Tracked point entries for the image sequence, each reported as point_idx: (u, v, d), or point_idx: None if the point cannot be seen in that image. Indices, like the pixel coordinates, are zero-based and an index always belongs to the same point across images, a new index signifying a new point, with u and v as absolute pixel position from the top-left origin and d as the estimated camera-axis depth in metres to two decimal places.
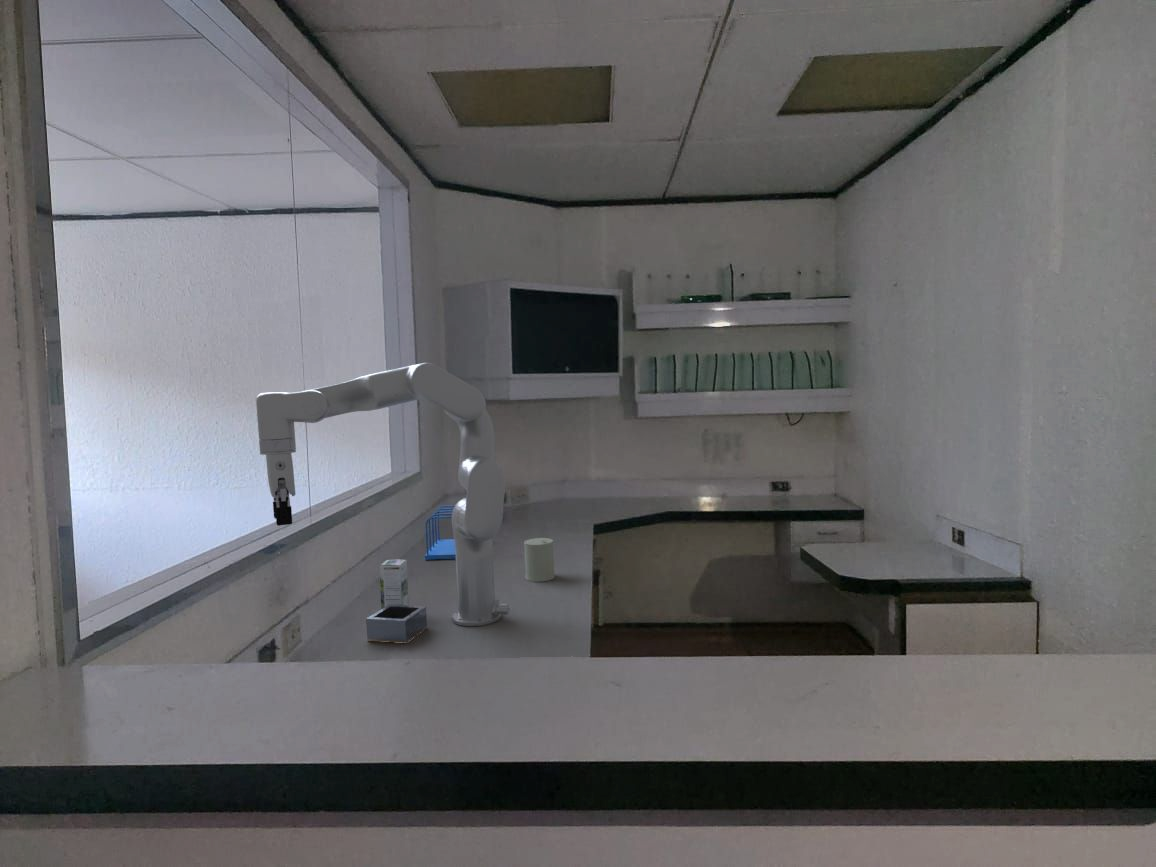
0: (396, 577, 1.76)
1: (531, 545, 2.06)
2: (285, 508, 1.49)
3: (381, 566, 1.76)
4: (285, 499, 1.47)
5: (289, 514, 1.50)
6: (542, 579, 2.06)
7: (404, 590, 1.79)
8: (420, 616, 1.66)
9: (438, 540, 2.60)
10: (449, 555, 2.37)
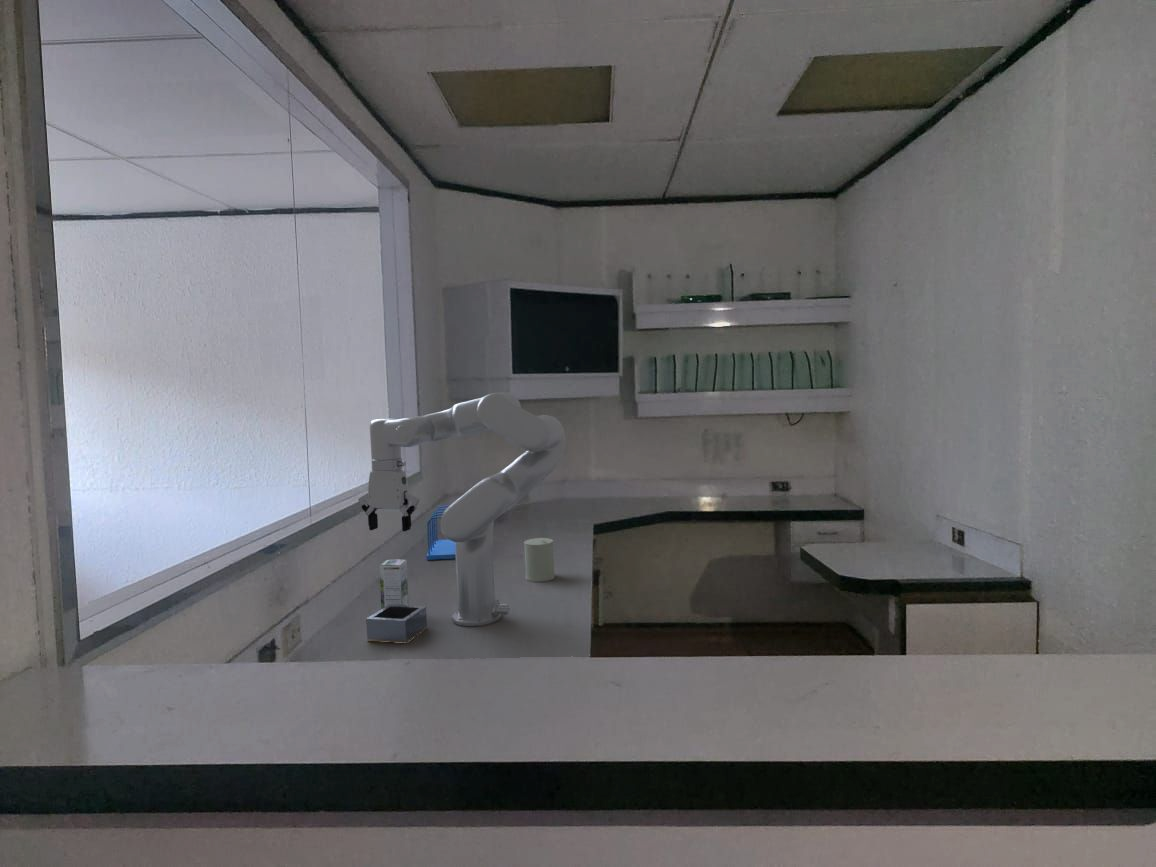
0: (396, 577, 1.76)
1: (531, 545, 2.06)
2: (409, 516, 1.77)
3: (381, 566, 1.76)
4: (415, 507, 1.76)
5: None
6: (542, 579, 2.06)
7: (404, 590, 1.79)
8: (420, 616, 1.66)
9: (436, 540, 2.60)
10: (451, 555, 2.37)
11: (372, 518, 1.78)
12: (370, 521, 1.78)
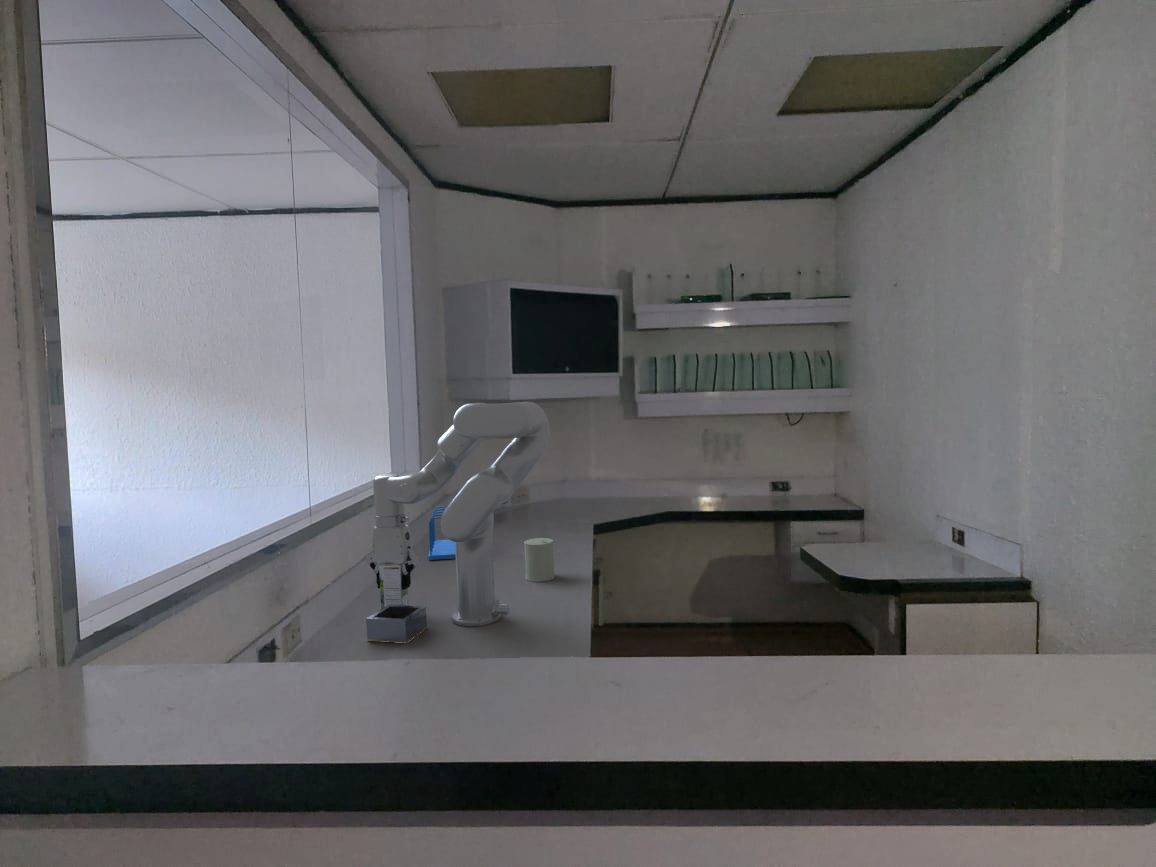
0: (396, 576, 1.76)
1: (531, 545, 2.06)
2: (409, 574, 1.78)
3: (381, 566, 1.76)
4: (414, 565, 1.78)
5: None
6: (542, 579, 2.06)
7: (404, 590, 1.79)
8: (420, 616, 1.66)
9: (434, 541, 2.59)
10: (453, 555, 2.37)
11: None
12: (378, 579, 1.79)
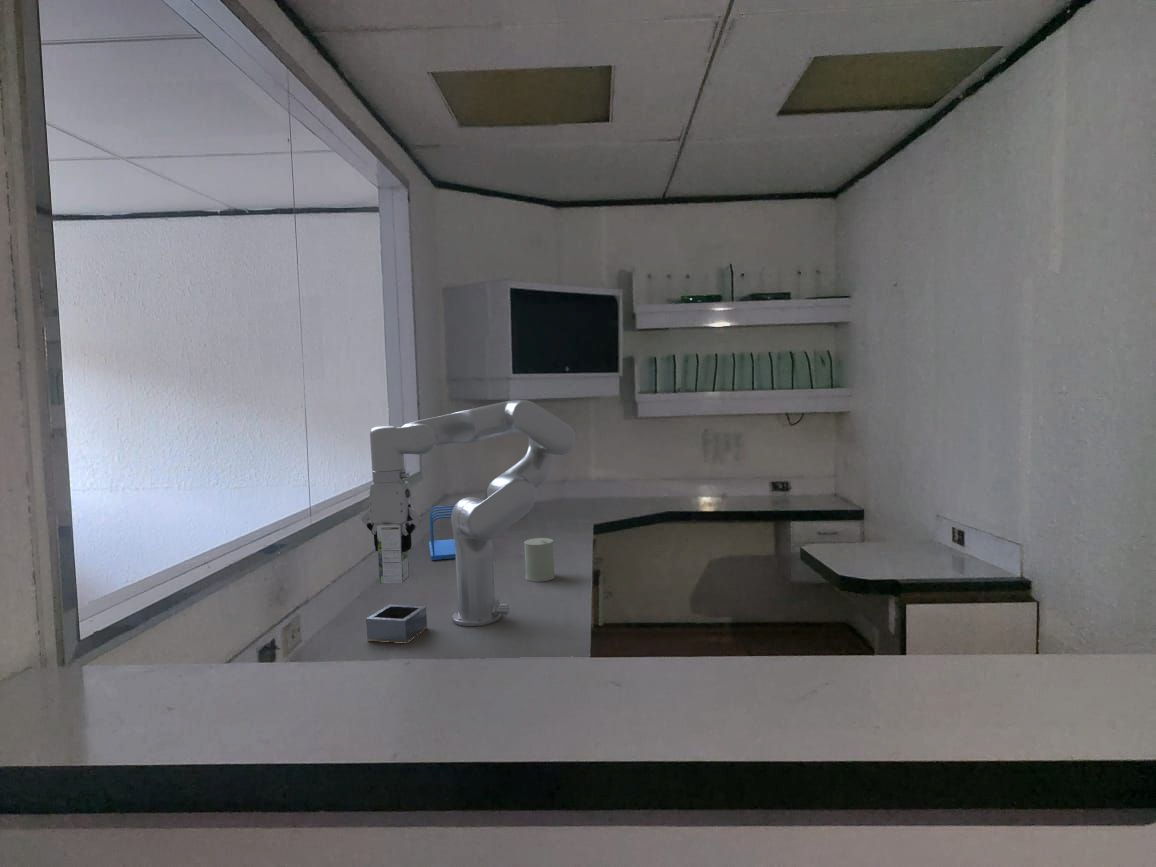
0: (396, 537, 1.61)
1: (531, 545, 2.06)
2: (409, 535, 1.63)
3: (379, 526, 1.61)
4: (416, 526, 1.62)
5: None
6: (542, 579, 2.06)
7: (404, 553, 1.64)
8: (420, 616, 1.66)
9: (430, 541, 2.59)
10: None
11: None
12: (376, 541, 1.63)
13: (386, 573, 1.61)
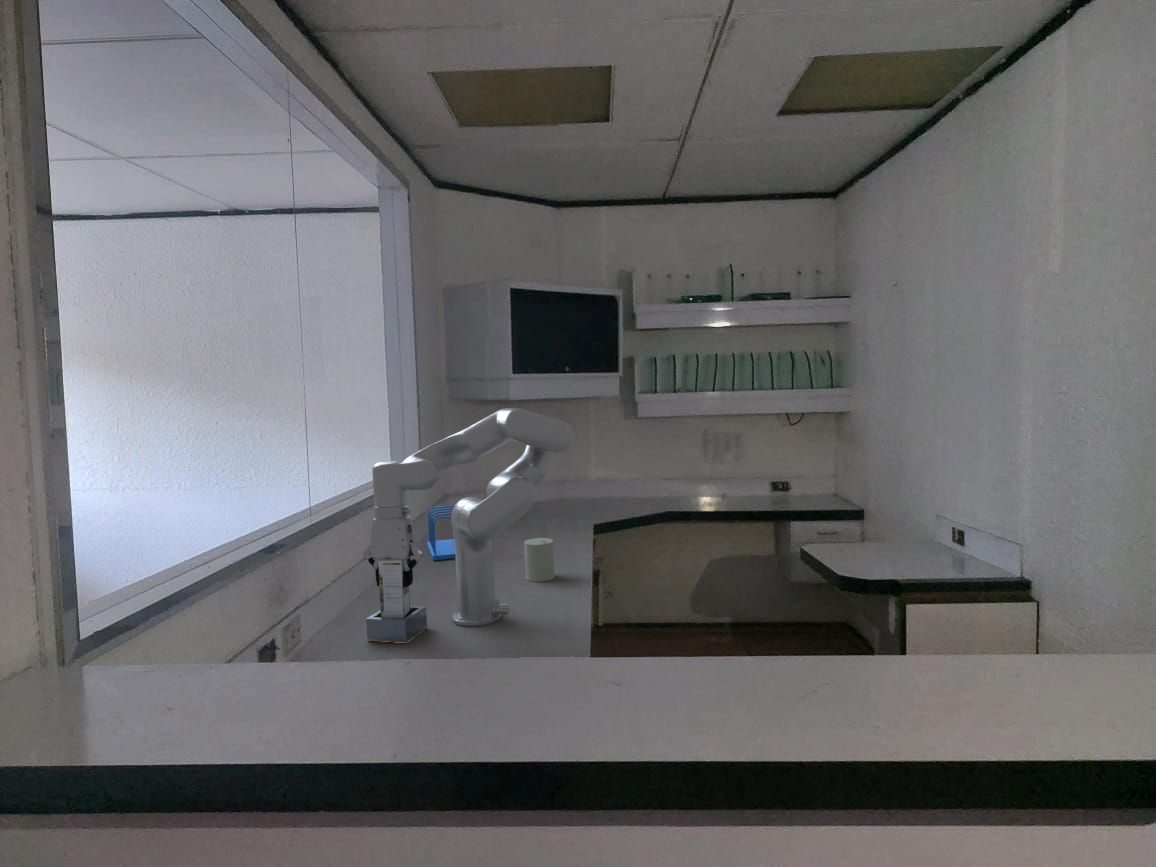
0: (397, 573, 1.61)
1: (531, 545, 2.06)
2: (411, 570, 1.63)
3: (380, 561, 1.61)
4: (417, 561, 1.63)
5: None
6: (542, 579, 2.06)
7: (406, 588, 1.64)
8: (420, 616, 1.66)
9: (429, 542, 2.58)
10: None
11: None
12: (378, 576, 1.64)
13: (387, 608, 1.62)
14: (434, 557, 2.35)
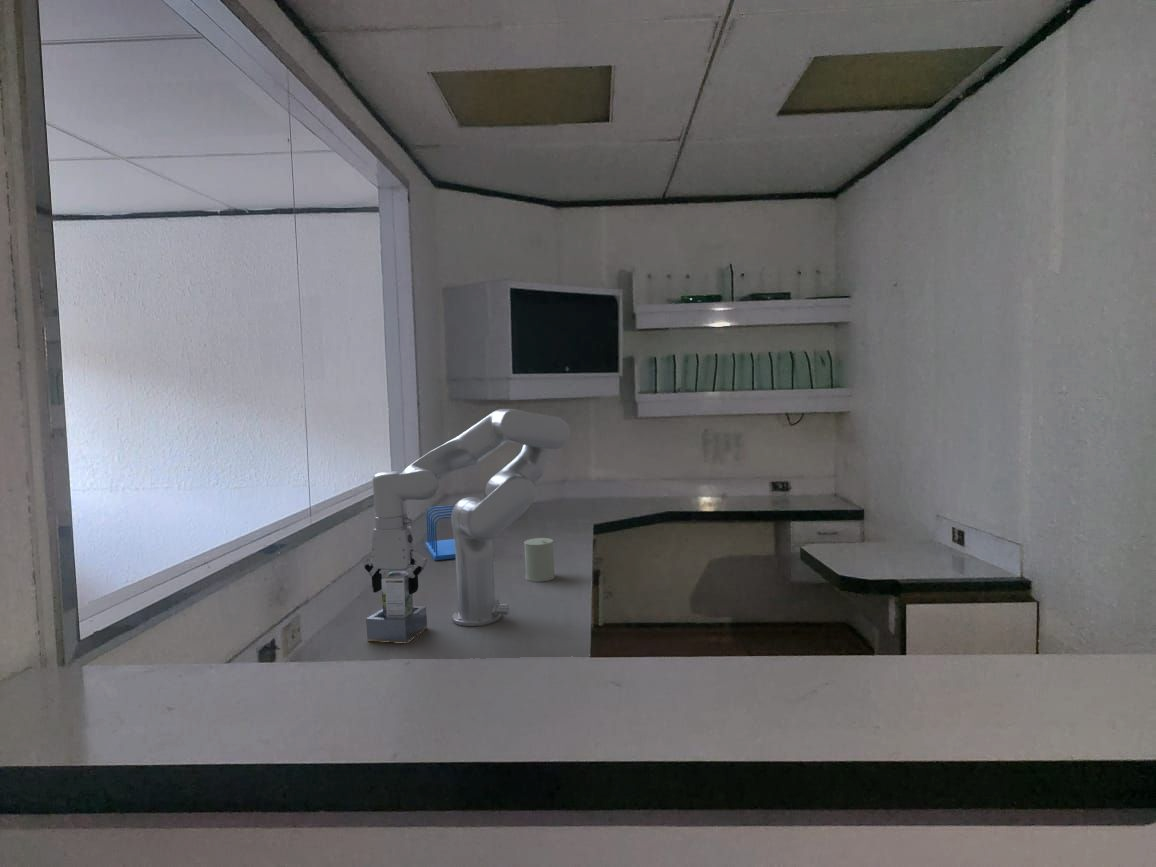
0: (400, 591, 1.62)
1: (531, 545, 2.06)
2: (416, 577, 1.63)
3: (383, 579, 1.62)
4: (423, 567, 1.63)
5: None
6: (542, 579, 2.06)
7: (409, 605, 1.65)
8: (420, 616, 1.66)
9: (427, 542, 2.58)
10: None
11: (376, 579, 1.65)
12: (374, 583, 1.64)
13: None
14: (436, 557, 2.35)
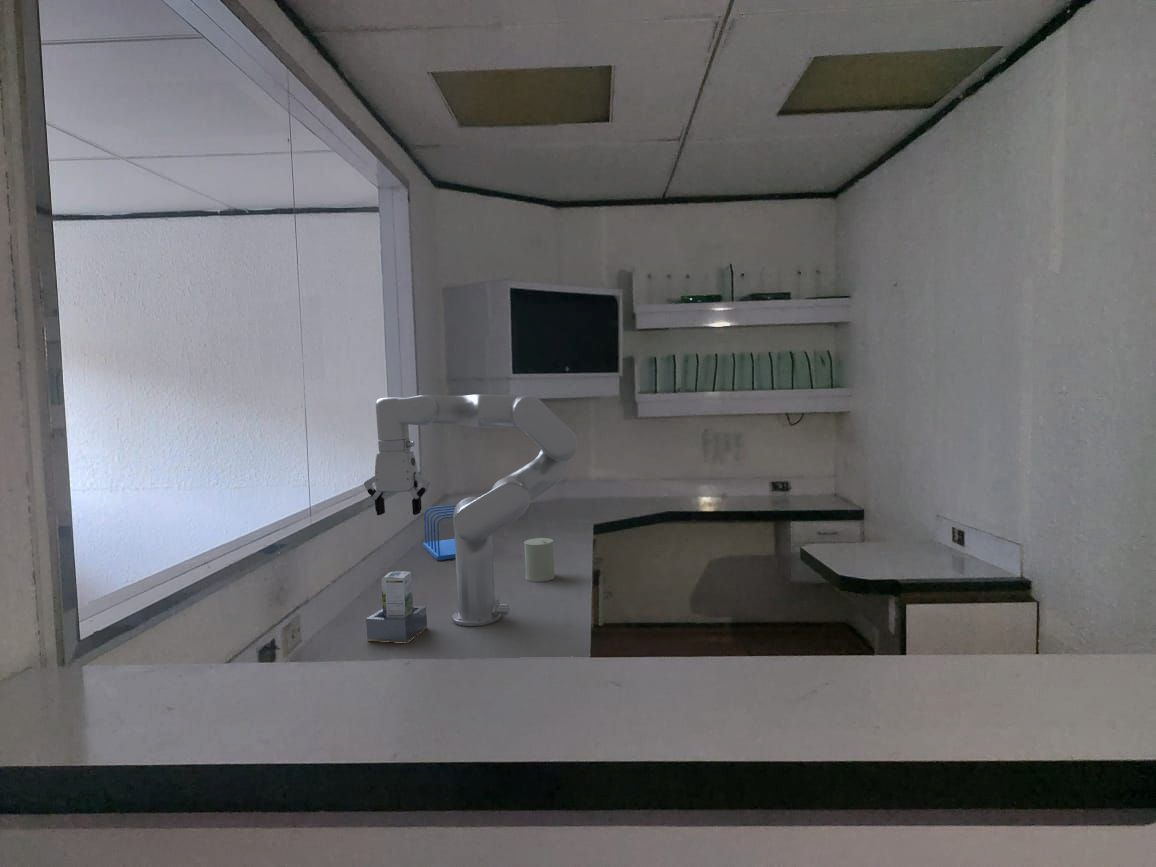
0: (400, 591, 1.62)
1: (531, 545, 2.06)
2: (420, 499, 1.69)
3: (383, 579, 1.62)
4: (426, 489, 1.69)
5: None
6: (542, 579, 2.06)
7: (409, 605, 1.65)
8: (420, 616, 1.66)
9: (425, 543, 2.57)
10: None
11: (379, 502, 1.70)
12: (377, 505, 1.69)
13: None
14: (438, 557, 2.35)
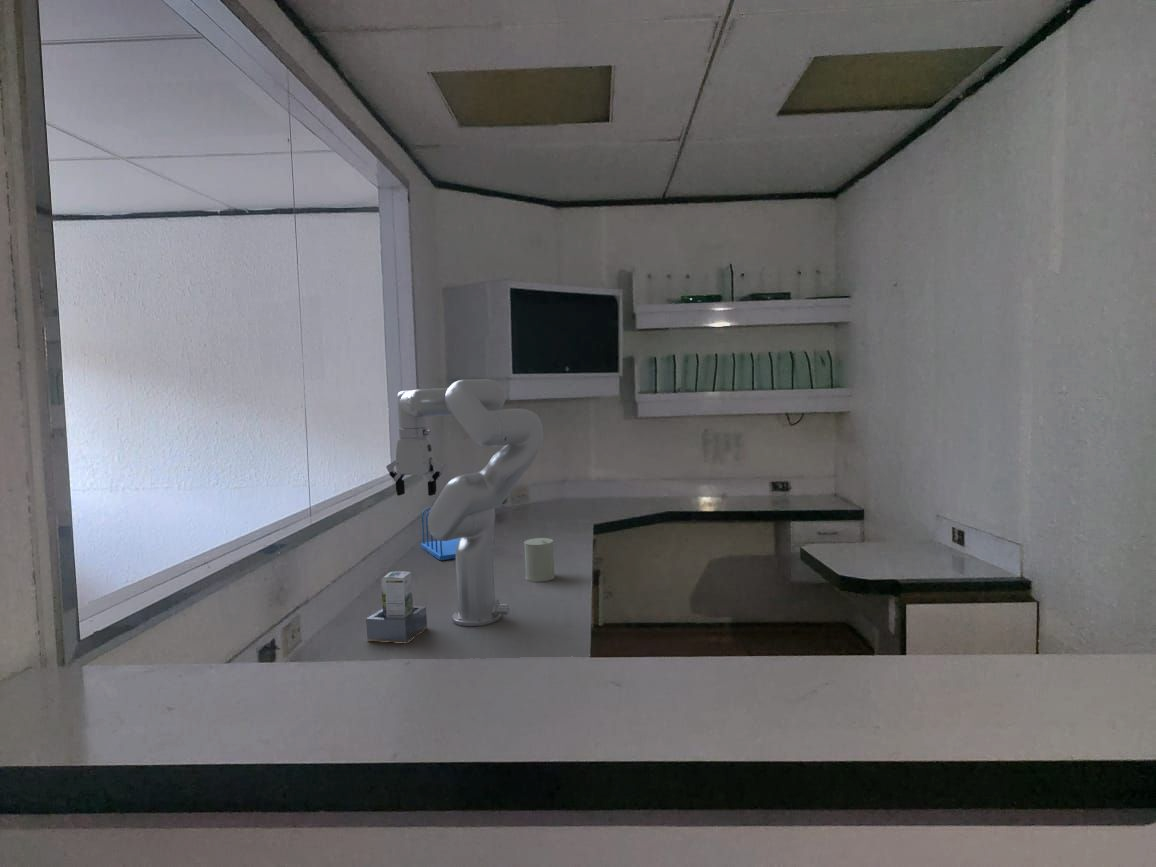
0: (400, 591, 1.62)
1: (531, 545, 2.06)
2: (435, 481, 1.89)
3: (383, 579, 1.62)
4: (440, 473, 1.88)
5: None
6: (542, 579, 2.06)
7: (409, 605, 1.65)
8: (420, 616, 1.66)
9: (423, 543, 2.56)
10: None
11: (399, 484, 1.90)
12: (398, 487, 1.90)
13: None
14: (441, 557, 2.35)
